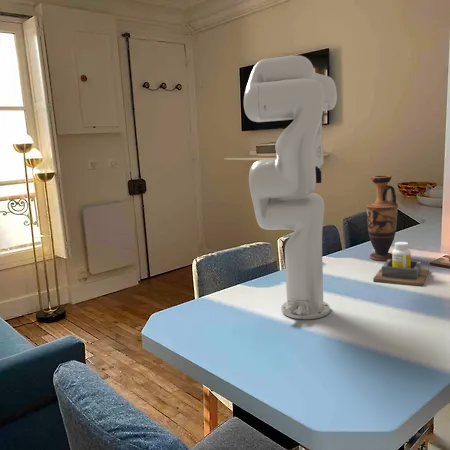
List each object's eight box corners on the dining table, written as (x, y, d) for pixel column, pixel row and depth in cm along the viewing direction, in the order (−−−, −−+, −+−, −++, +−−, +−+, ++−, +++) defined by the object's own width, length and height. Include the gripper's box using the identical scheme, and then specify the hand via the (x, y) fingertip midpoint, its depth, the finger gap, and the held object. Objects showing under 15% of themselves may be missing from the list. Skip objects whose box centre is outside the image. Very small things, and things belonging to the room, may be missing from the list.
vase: (367, 262, 159) (366, 178, 153) (365, 254, 169) (364, 175, 163) (399, 262, 156) (400, 176, 150) (395, 254, 166) (396, 174, 161)
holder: (422, 286, 130) (422, 273, 129) (373, 281, 137) (373, 269, 137) (428, 271, 144) (429, 259, 143) (383, 267, 151) (383, 256, 150)
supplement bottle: (407, 270, 142) (408, 240, 141) (412, 275, 137) (413, 244, 135) (390, 271, 143) (390, 241, 141) (394, 276, 138) (394, 245, 136)
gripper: (311, 129, 129) (313, 187, 132) (329, 128, 144) (331, 181, 147) (287, 131, 133) (290, 188, 136) (307, 130, 148) (309, 181, 151)
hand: (311, 184), depth 141 cm, fingers open, 9 cm apart
